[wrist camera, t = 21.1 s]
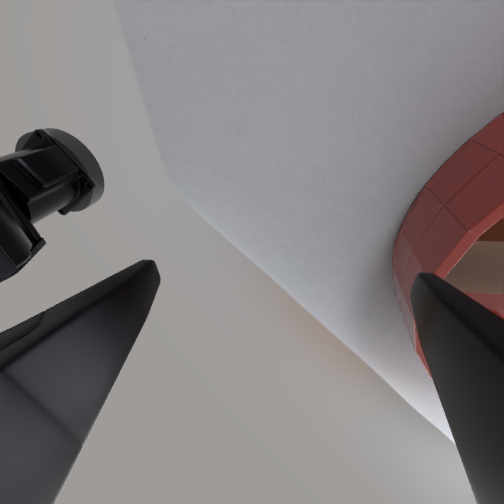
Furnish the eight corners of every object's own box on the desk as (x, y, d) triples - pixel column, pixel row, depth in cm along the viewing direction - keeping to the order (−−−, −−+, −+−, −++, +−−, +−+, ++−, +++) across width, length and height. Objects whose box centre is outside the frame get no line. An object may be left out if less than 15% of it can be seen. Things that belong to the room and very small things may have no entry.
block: (476, 258, 20) (506, 294, 17) (418, 256, 21) (436, 290, 18) (499, 210, 18) (540, 242, 15) (433, 210, 19) (458, 240, 16)
